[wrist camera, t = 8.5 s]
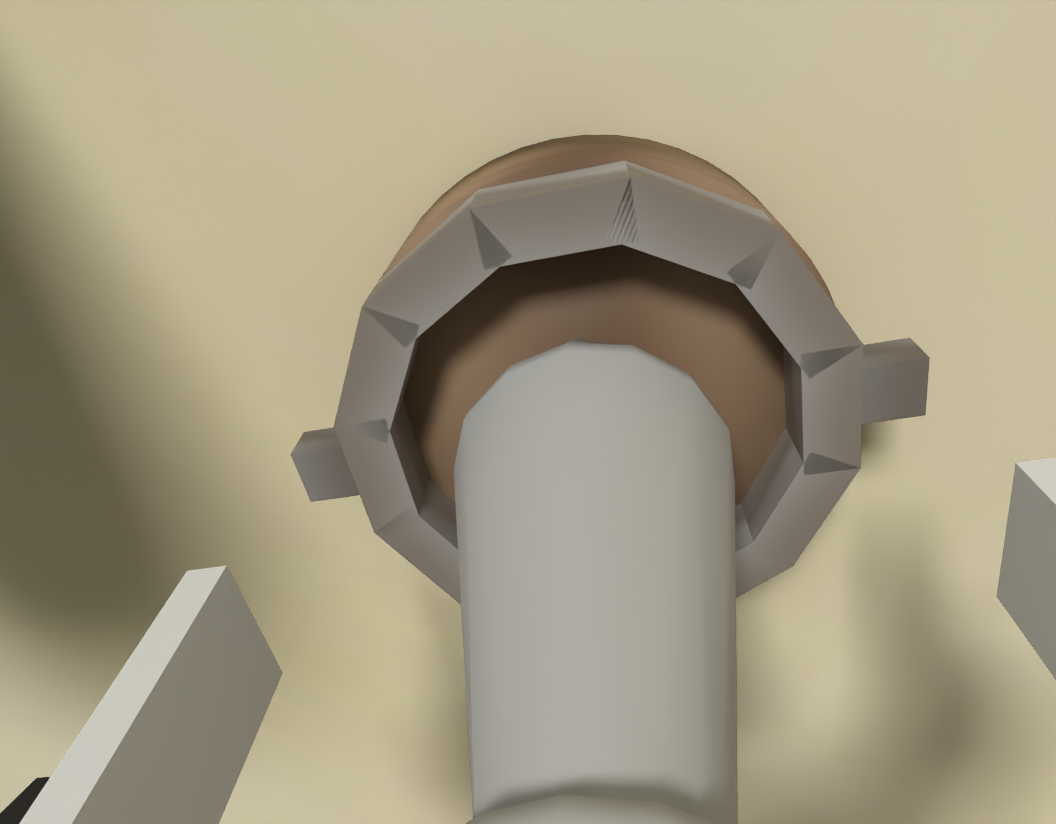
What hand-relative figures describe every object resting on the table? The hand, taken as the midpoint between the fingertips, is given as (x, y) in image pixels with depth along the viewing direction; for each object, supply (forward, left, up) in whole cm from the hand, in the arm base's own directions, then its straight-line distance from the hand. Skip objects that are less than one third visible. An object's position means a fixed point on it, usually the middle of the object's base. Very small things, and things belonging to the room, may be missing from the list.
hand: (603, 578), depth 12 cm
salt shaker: (0, 0, -6) cm, 6 cm away
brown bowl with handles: (0, 0, -9) cm, 9 cm away
